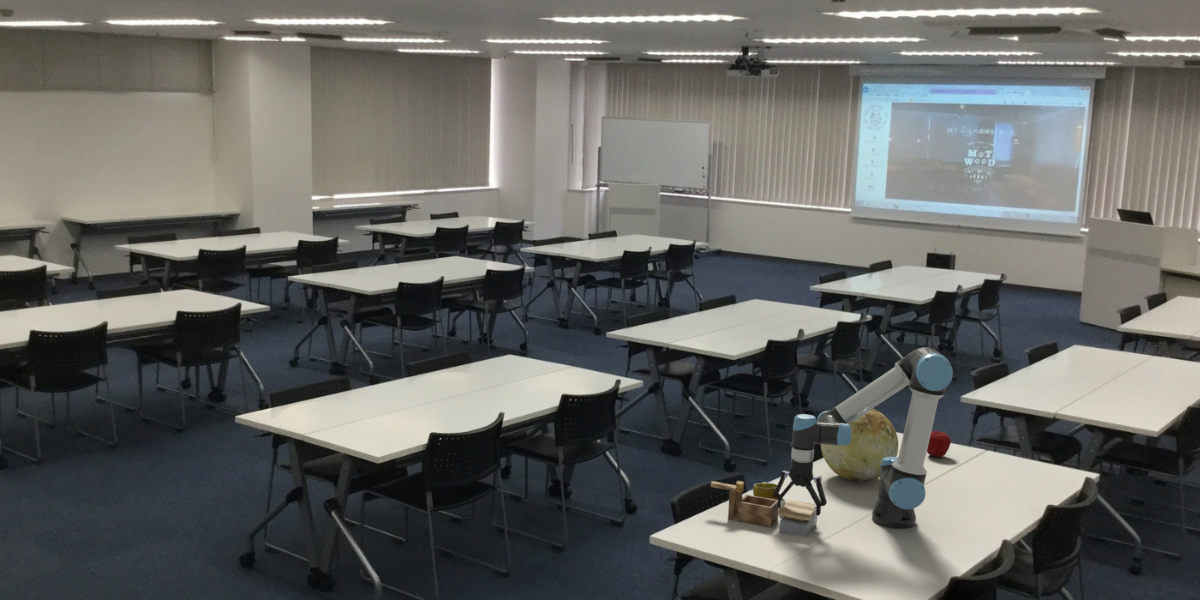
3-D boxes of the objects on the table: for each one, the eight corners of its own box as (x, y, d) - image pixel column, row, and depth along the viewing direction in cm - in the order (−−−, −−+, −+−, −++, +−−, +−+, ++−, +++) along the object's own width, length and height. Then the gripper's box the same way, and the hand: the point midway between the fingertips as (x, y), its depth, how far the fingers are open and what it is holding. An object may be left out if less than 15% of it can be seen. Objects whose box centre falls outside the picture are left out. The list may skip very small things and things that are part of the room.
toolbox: (777, 519, 368) (779, 488, 367) (770, 527, 360) (772, 495, 359) (736, 511, 375) (737, 480, 373) (727, 519, 367) (729, 487, 365)
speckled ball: (904, 478, 420) (910, 406, 416) (881, 497, 395) (887, 421, 391) (833, 464, 436) (838, 394, 432) (807, 482, 411) (812, 408, 407)
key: (743, 490, 369) (744, 482, 369) (741, 492, 367) (741, 484, 366) (713, 484, 374) (713, 476, 374) (710, 487, 372) (710, 478, 371)
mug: (782, 508, 374) (775, 481, 375) (755, 514, 377) (748, 486, 378) (785, 503, 386) (778, 477, 387) (758, 509, 388) (752, 483, 390)
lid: (809, 523, 352) (810, 515, 352) (778, 517, 357) (778, 509, 357) (818, 513, 363) (819, 504, 362) (787, 507, 368) (788, 499, 367)
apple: (924, 459, 448) (926, 432, 446) (921, 452, 458) (923, 426, 456) (951, 461, 446) (953, 434, 444) (947, 454, 456) (949, 428, 455)
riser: (815, 524, 365) (816, 513, 364) (805, 536, 352) (805, 525, 352) (790, 519, 369) (791, 508, 368) (779, 531, 356) (780, 520, 356)
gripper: (838, 462, 355) (834, 523, 358) (772, 451, 365) (768, 511, 369) (833, 468, 349) (829, 530, 352) (766, 456, 359) (762, 517, 362)
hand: (798, 520), depth 360 cm, fingers closed on lid, 11 cm apart
